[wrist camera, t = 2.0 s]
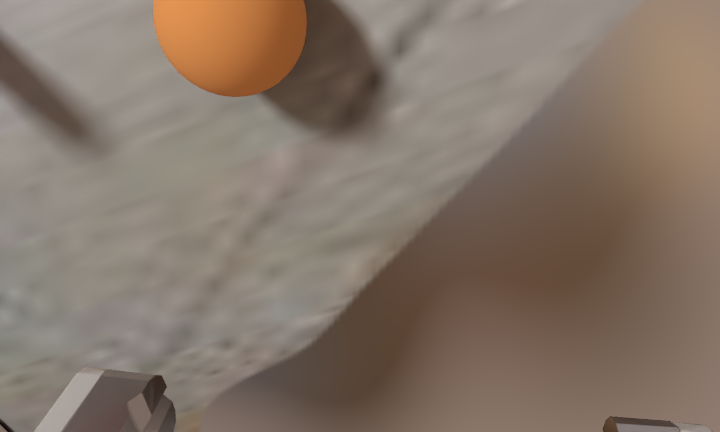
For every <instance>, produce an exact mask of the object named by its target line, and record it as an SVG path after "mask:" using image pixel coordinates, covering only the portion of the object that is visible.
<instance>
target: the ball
mask: <svg viewBox="0 0 720 432" xmlns="http://www.w3.org/2000/svg"><path fill="white" fill-rule="evenodd" d="M153 17H154V25H155V30H156V34H157V37H158V41H159V43H160V45H161V48H162V50H163V51H164V53H165V55H166V57H167V58H168V60H169V61H170V62H171V64H172V65H173V66H174V67H175V69H176V70H177V71H178V72H179V73H180V74H181V75H182V76H184V77H185V78H186V79H187V80H189V81H190V82H191V83H193V84H194V85H196V86H198V87H199V88H202V89H204V90H206V91H209V92H212V93H215V94H218V95H223V96H231V97H240V96H249V95H254V94H258V93H260V92H263V91H265V90H267V89H269V88H271V87H273V86H275V85H276V84H277V83H279V82H280V81H281V80H282V79H283V78H284V77H285V76H286V75H287V74H288V73H289V72H290V71H291V70H292V68H293V67H294V66H295V64H296V62H297V60H298V59H299V57H300V55H301V52H302V49H303V47H304V43H305V38H306V30H307V15H306V8H305V3H304V0H154V3H153Z"/></svg>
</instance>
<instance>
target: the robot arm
mask: <svg viewBox="0 0 720 432" xmlns="http://www.w3.org/2000/svg"><path fill="white" fill-rule="evenodd" d="M166 388H167V386H166V384H165V381H164V379H163V377H162V376H161V375H152V374H143V373H135V372H126V371H117V370H110V369H100V368H89V367H85V368H84V369H82V370H81V371H79V372H78V373H77V374H76V375H75V376H74V378H73V379H72V380H71V382H70V383H69V384H68V386H67V387H66V388H65V390H64V391H63V393H62V394H61V395H60V397H59V398H58V399H57V401H56V402H55V404H54V405H53V406H52V408H51V409H50V410H49V412H48V413H47V414H46V416H45V417H44V419H43V420H42V421H41V423H40V424H39V425H38V427H37V428H36V430H35V431H34V432H174V428H175V423H176V414H175V408H174V405H173V402H172V401H171V400H170V399H168V398H167V397H166V396H165V395H163V393H164V391H165V390H166ZM0 432H7V431H6V430H5V429H4V428H3V427H2V426H1V425H0ZM603 432H712V431H711V430H710V429H709V428H708V427H707V426H705V425H699V424H687V423H673V422H670V421H662V420H649V419H635V418H623V417H611V416H610V417H609V418H608V419H607V420H606V421H605V424H604V427H603Z"/></svg>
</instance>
